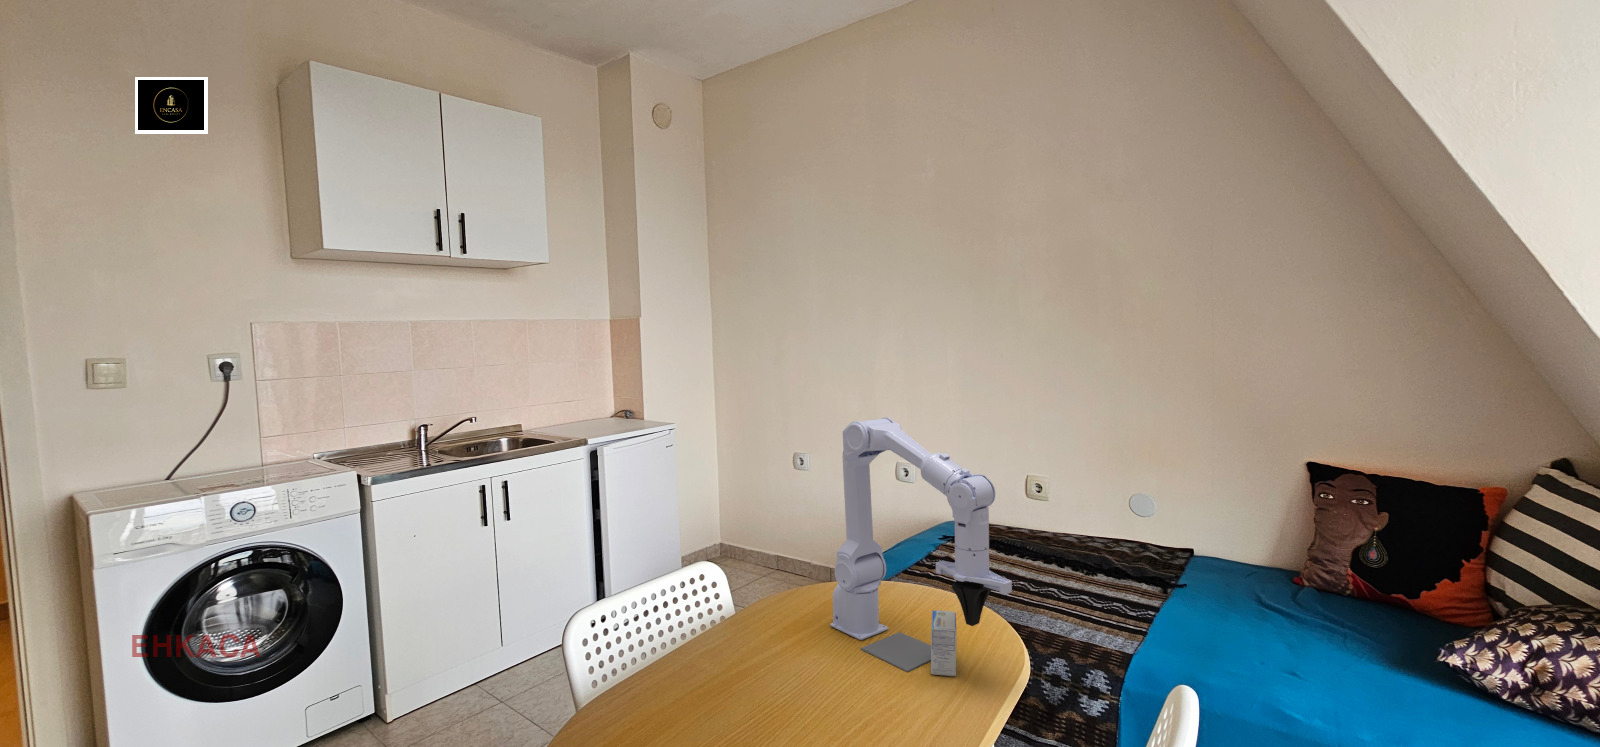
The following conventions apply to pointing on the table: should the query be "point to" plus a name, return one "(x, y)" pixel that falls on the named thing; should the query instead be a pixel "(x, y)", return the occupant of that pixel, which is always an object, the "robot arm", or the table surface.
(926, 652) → the gray mat
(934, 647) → the medicine box
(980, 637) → the table surface
